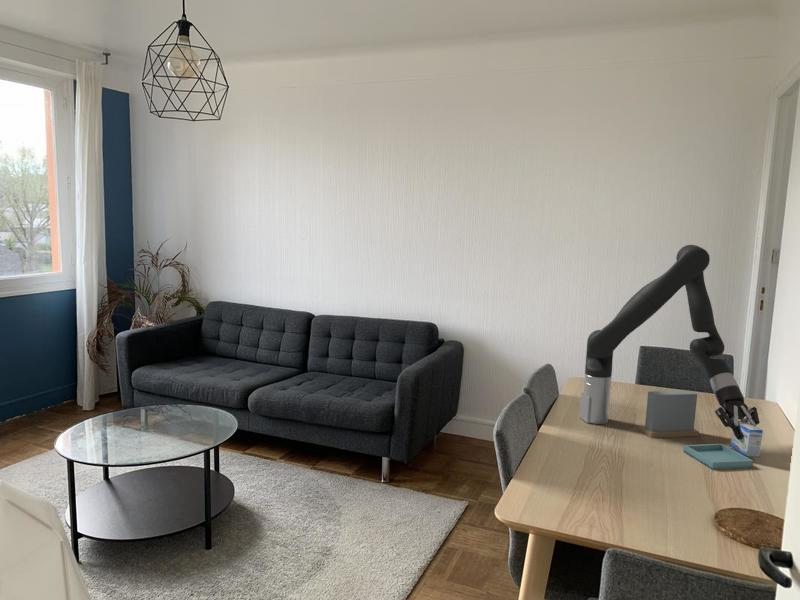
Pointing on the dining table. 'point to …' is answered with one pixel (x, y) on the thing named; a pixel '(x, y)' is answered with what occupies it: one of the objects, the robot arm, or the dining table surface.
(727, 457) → the teal tray
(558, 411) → the dining table surface
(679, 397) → the slate unit
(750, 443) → the medicine box
